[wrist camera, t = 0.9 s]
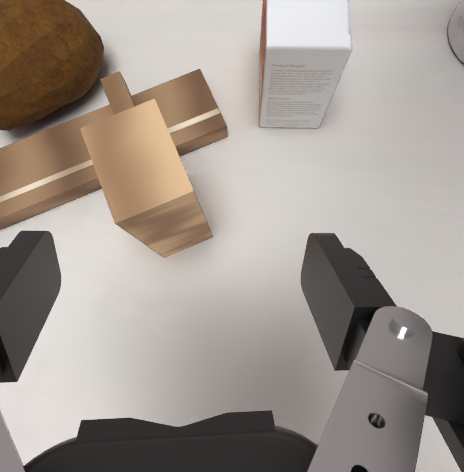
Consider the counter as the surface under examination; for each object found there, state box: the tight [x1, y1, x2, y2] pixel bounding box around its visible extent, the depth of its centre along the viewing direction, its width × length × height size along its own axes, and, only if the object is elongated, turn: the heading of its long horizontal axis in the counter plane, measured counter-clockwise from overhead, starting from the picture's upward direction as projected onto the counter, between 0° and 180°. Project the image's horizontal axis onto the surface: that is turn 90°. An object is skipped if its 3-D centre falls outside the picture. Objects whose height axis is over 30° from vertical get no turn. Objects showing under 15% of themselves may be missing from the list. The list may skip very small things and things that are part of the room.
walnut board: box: [0, 69, 227, 230], centre depth 32 cm, size 26×6×2 cm, turn 113°
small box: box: [259, 0, 352, 128], centre depth 29 cm, size 8×6×10 cm
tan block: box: [80, 71, 213, 257], centre depth 27 cm, size 4×12×12 cm, turn 23°
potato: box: [0, 0, 104, 131], centre depth 31 cm, size 8×12×9 cm
